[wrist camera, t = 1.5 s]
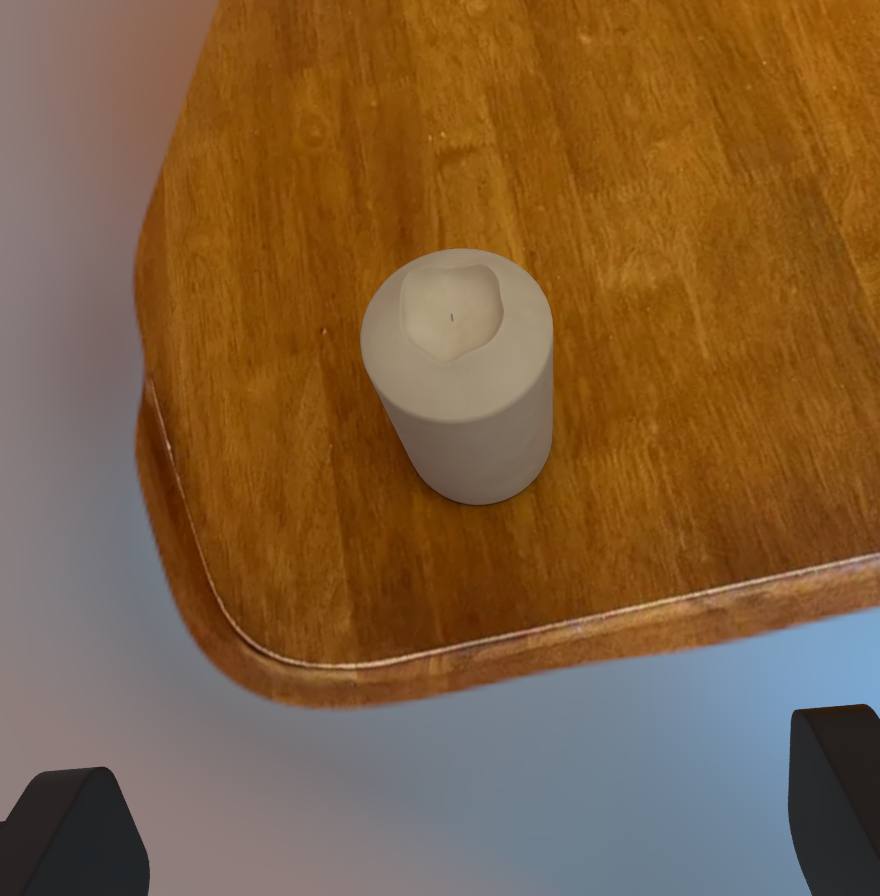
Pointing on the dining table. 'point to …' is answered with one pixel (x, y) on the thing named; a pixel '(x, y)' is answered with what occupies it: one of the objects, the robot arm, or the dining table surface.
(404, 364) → the candle
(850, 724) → the robot arm
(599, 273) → the dining table surface
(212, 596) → the dining table surface
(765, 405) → the dining table surface
